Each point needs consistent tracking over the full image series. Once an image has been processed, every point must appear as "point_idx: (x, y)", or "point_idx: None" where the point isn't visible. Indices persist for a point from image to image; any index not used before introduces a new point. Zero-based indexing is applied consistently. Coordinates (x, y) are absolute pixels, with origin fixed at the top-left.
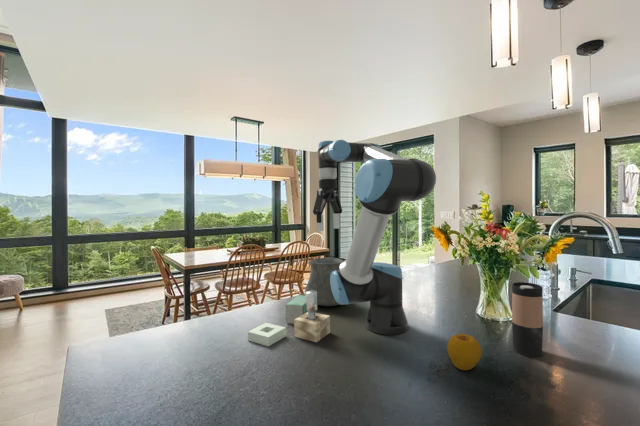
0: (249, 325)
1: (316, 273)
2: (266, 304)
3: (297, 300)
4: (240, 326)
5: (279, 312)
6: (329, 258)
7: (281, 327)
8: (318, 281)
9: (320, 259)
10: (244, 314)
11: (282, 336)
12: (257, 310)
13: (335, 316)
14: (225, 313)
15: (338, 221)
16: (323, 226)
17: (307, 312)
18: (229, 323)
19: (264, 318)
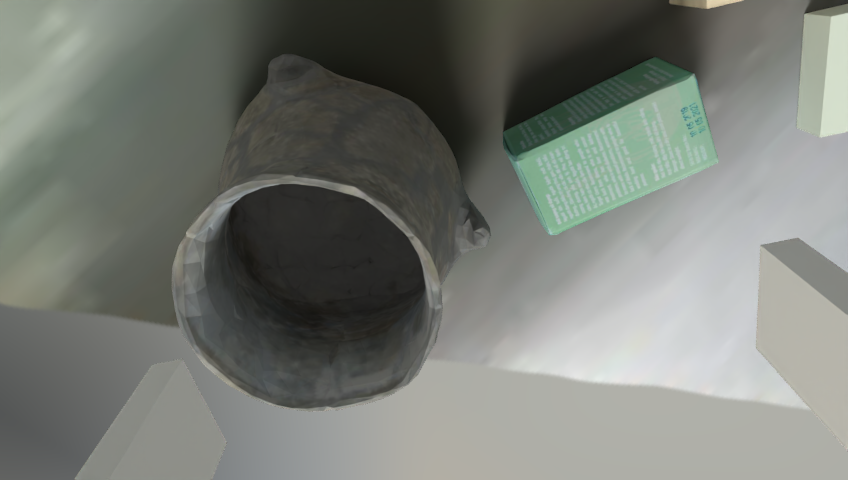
0: (779, 226)
1: (436, 259)
2: (552, 366)
3: (633, 165)
4: None
5: (594, 253)
6: (214, 357)
7: (840, 32)
8: (442, 214)
9: (276, 393)
10: (694, 335)
11: (835, 7)
12: (630, 335)
13: (470, 8)
14: (724, 391)
15: (120, 473)
16: (821, 290)
17: (723, 2)
18: None
19: (686, 244)
